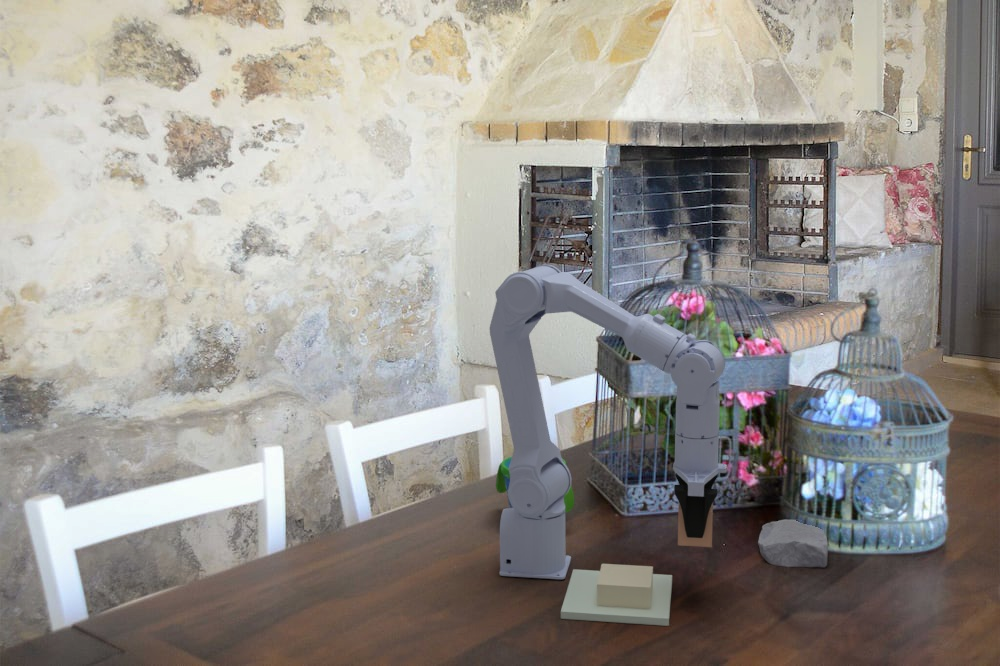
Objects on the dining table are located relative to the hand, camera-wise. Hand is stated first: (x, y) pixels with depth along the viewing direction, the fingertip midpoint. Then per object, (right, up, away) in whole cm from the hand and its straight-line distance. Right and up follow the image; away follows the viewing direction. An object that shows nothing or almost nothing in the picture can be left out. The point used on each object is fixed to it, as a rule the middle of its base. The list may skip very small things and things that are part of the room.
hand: (694, 530), depth 147 cm
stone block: (+17, -7, +16) cm, 25 cm away
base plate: (-10, -10, +1) cm, 14 cm away
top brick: (0, -1, 0) cm, 1 cm away
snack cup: (-21, -4, +30) cm, 37 cm away
